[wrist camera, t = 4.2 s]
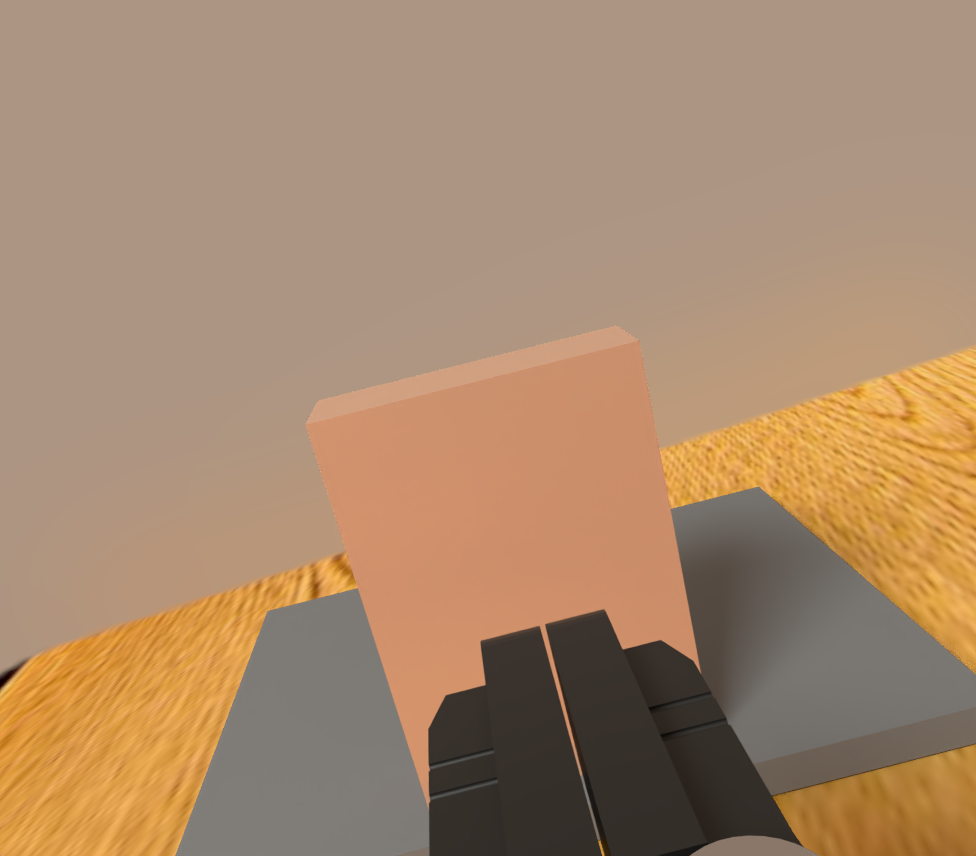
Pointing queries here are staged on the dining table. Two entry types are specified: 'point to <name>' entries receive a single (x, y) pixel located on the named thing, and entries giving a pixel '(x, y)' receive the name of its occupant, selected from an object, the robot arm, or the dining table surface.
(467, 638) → the tile
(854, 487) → the dining table surface
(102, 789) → the dining table surface
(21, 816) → the dining table surface
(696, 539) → the mat
